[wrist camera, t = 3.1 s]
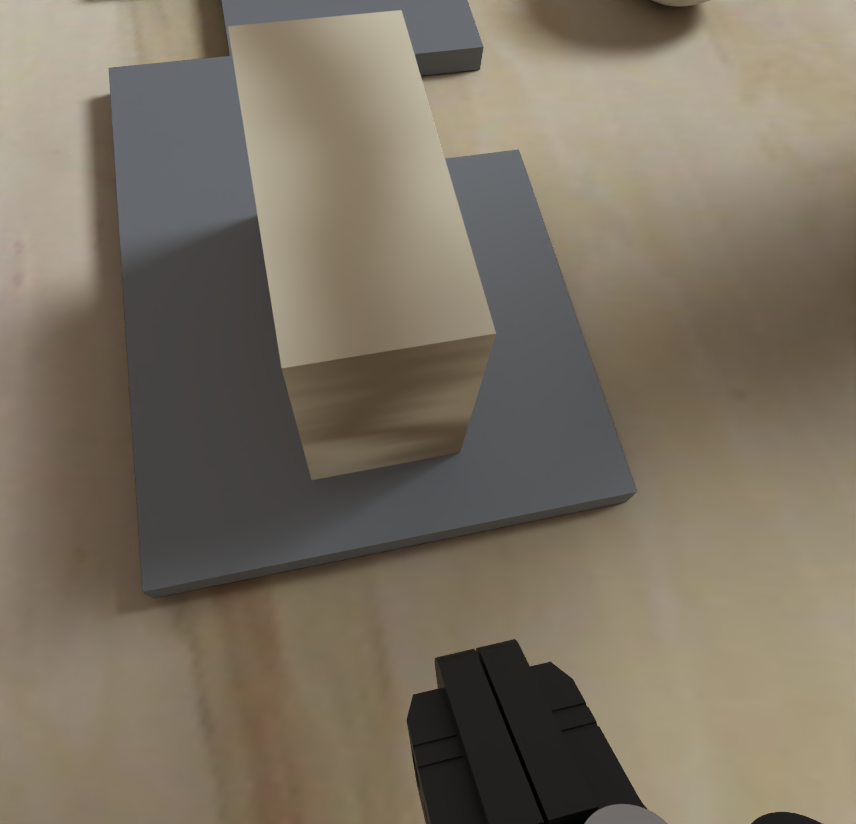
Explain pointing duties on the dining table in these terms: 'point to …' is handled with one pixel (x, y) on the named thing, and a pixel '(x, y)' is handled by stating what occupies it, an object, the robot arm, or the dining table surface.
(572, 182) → the dining table surface
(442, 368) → the birch block
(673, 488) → the dining table surface
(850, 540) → the dining table surface
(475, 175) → the board
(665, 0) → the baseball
